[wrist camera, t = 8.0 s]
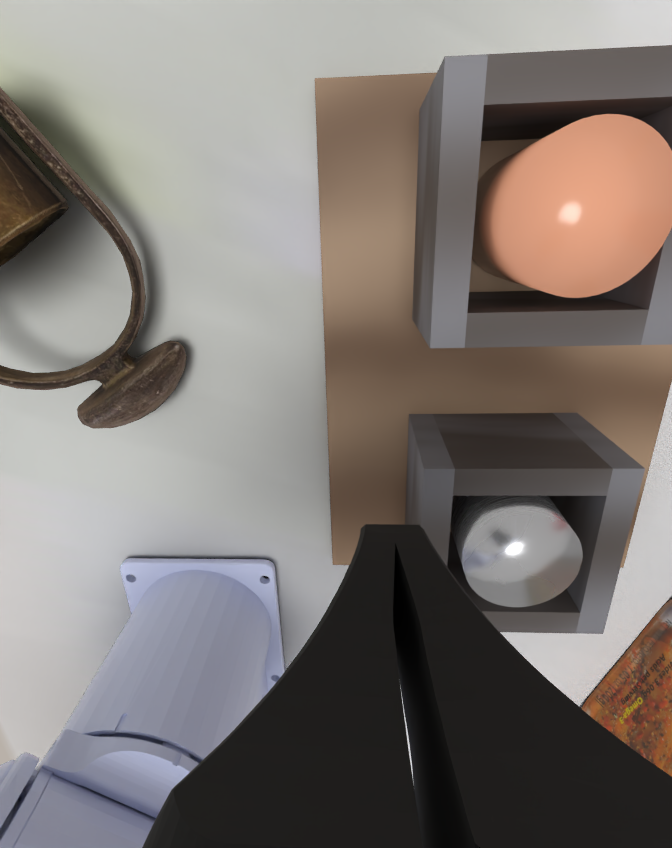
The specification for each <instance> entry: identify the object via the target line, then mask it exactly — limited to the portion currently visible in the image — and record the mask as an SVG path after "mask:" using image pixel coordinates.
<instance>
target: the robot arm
mask: <svg viewBox="0 0 672 848" xmlns="http://www.w3.org/2000/svg"><path fill="white" fill-rule="evenodd" d="M120 572H121V576H122V580H123V584H124V588H125V591H126V595H127V599H128V603H129V607H130V611H131V616H130V618H129V620H128V621H127V623H126V625H125V626H124V628H123V630H122V631H121V633H120V635H119V636H118V638H117V640H116V641H115V643H114V645H113V646H112V648H111V650H110V651H109V653H108V655H107V656H106V658H105V660H104V661H103V663H102V665H101V666H100V668H99V670H98V671H97V673H96V675H95V676H94V678H93V680H92V681H91V683H90V685H89V686H88V688H87V690H86V691H85V693H84V695H83V696H82V698H81V700H80V701H79V703H78V705H77V706H76V708H75V710H74V711H73V713H72V715H71V716H70V718H69V720H68V721H67V723H66V725H65V726H64V728H63V730H62V731H61V733H60V735H59V736H58V738H57V740H56V741H55V743H54V744H53V746H52V747H51V748H50V750H49V751H48V752H47V754H46V755H45V757H44V758H43V759H42V761H41V762H40V763H39V765H38V766H37V768H36V769H35V767H36V765H37V763H38V762H39V758H38V757H36V756H34V755H32V754H30V753H23V754H21V755H20V756H19V757H18V758H17V759H16V760H10V761H9V762H6V763H4V764H1V765H0V848H672V776H670V775H669V774H667V773H666V772H664V771H663V770H662V769H660V768H659V767H657V766H656V765H654V764H653V763H651V762H650V761H648V760H647V759H646V758H644V757H643V756H641V755H640V754H639V753H637V752H636V751H635V750H633V749H632V748H631V747H629V746H628V745H627V744H625V743H624V742H623V741H622V740H620V739H619V738H618V737H616V736H615V735H614V734H612V733H611V732H610V731H608V730H607V729H606V728H605V727H603V726H602V725H601V724H599V723H598V722H597V721H595V720H594V719H593V718H592V717H591V716H589V715H588V714H587V713H586V712H585V711H583V710H582V709H581V708H580V707H579V706H578V705H576V704H575V703H574V702H573V701H572V700H571V699H569V698H568V697H567V696H566V695H565V694H564V693H562V692H561V691H560V690H559V689H558V688H557V687H555V686H554V685H553V684H552V683H551V682H550V681H548V680H547V679H546V678H545V677H544V676H543V675H542V674H541V673H540V672H539V671H538V670H537V669H536V668H534V667H533V666H532V665H531V664H530V663H529V662H528V661H527V660H526V659H525V658H524V657H523V656H522V655H521V654H520V653H519V652H518V651H517V650H516V649H515V648H514V647H513V646H512V645H511V644H510V643H509V642H508V641H507V640H506V639H505V637H504V636H503V635H502V634H501V633H500V632H499V631H498V630H497V629H496V628H495V627H494V625H493V624H492V623H491V622H490V621H489V620H488V619H487V617H486V616H485V615H484V614H483V613H482V611H481V610H480V609H479V608H478V607H477V606H476V604H475V603H474V602H473V601H472V599H471V598H470V597H469V596H468V594H467V593H466V592H465V591H464V589H463V588H462V586H461V585H460V584H459V582H458V581H457V580H456V578H455V577H454V576H453V574H452V573H451V572H450V570H449V569H448V567H447V566H446V565H445V563H444V562H443V560H442V559H441V557H440V556H439V554H438V553H437V551H436V549H435V548H434V546H433V545H432V543H431V541H430V540H429V538H428V536H427V534H426V533H425V531H424V529H423V528H422V527H421V526H420V525H404V524H365V525H364V526H363V527H362V528H361V530H360V536H359V541H358V544H357V547H356V550H355V553H354V555H353V558H352V561H351V563H350V565H349V568H348V570H347V572H346V574H345V576H344V579H343V581H342V583H341V585H340V587H339V589H338V591H337V593H336V594H335V596H334V598H333V600H332V602H331V603H330V605H329V607H328V609H327V611H326V613H325V614H324V616H323V618H322V619H321V621H320V622H319V624H318V626H317V627H316V629H315V630H314V632H313V633H312V635H311V636H310V638H309V639H308V641H307V642H306V644H305V645H304V647H303V648H302V649H301V651H300V652H299V654H298V655H297V656H296V658H295V659H294V660H293V662H292V663H291V664H290V665H289V667H288V668H287V669H286V671H285V668H284V657H283V647H282V636H281V626H280V615H279V605H278V595H277V584H276V574H275V566H274V564H273V563H272V562H271V561H269V560H262V559H148V558H129V559H126V560H124V562H123V563H122V564H121V566H120ZM130 574H131V575H134V576H135V577H132V576H131V575H130ZM262 576H267V577H269V578H268V579H265V578H263V577H262ZM399 679H400V680H399ZM400 685H401V689H400ZM401 692H402V697H401ZM402 698H403V704H404V710H405V717H406V723H407V729H408V735H409V742H410V750H411V759H412V768H413V779H412V772H411V765H410V758H409V751H408V744H407V736H406V728H405V721H404V713H403V705H402ZM413 781H414V786H413Z"/></svg>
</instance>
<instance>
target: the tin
mask: <svg viewBox="0 0 672 848" xmlns="http://www.w3.org/2000/svg"><path fill="white" fill-rule="evenodd" d="M582 710H583V711H585V712H586V713H587V714H588V715H589V716H591V717H592V718H593V719H594V720H595V721H597V722H598V723H599V724H601V725H602V726H603V727H605V728H606V729H607V730H608V731H610V732H611V733H612V734H614V735H615V736H616V737H618V738H619V739H620V740H622V741H623V742H624V743H625V744H627V745H628V746H629V747H631V748H632V749H633V750H635V751H636V752H637V753H639V754H640V755H641V756H643V757H644V758H646V759H647V760H648V761H650V762H651V763H653V764H654V765H656V766H657V767H659V768H660V769H662V770H663V771H664V772H666V773H667V774H669V775H670V776H672V599H671V600H669V601H668V602H667V603H665V604H664V605H663V606H662V608H661V609H660V610H659V611H658V612H657V613H656V615H655V616H654V617H653V618H652V620H651V621H650V622H649V624H648V625H647V626H646V627H645V628H644V630H643V631H642V632H641V634H640V635H639V636H638V637H637V638H636V640H635V641H634V642H633V644H632V645H631V646H630V647H629V648H628V650H627V651H626V652H625V653H624V655H623V656H622V657H621V658H620V660H619V661H618V662H617V663H616V665H615V666H614V667H613V668H612V669H611V671H610V672H609V673H608V674H607V675H606V677H605V678H604V679H603V680H602V681H601V683H600V684H599V685H598V686H597V687H596V689H595V690H594V691H593V692H592V693H591V695H590V696H589V697H588V699H587V700H586V702H585V703H584V705H583V706H582Z"/></svg>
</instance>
